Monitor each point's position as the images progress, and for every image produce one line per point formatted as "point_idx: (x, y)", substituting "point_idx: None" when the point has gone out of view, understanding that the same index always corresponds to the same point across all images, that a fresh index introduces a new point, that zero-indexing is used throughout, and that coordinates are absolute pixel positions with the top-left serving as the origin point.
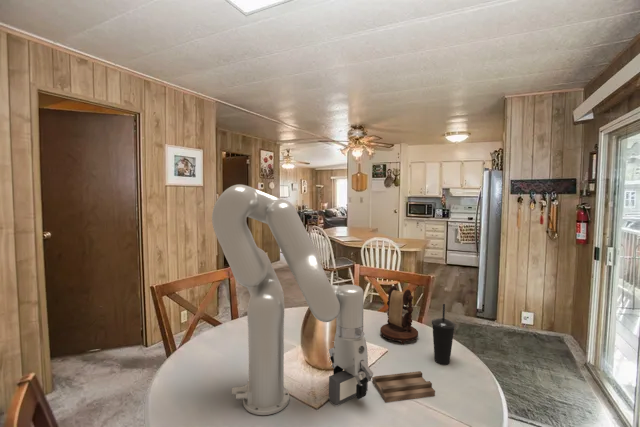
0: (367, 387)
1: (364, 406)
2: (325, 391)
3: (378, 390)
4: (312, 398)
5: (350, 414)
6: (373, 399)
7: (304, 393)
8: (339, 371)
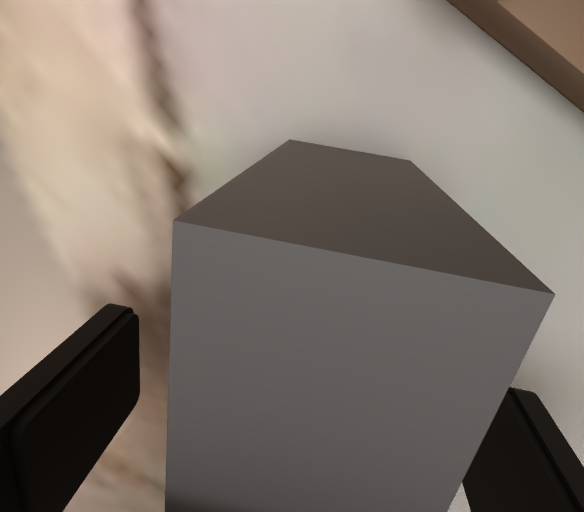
0: (415, 166)
1: (512, 383)
2: (144, 410)
3: (550, 77)
4: (154, 500)
5: (459, 498)
6: (547, 252)
7: (82, 491)
8: (63, 443)
